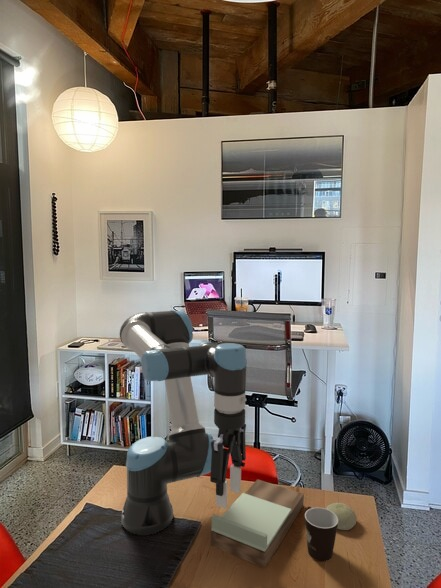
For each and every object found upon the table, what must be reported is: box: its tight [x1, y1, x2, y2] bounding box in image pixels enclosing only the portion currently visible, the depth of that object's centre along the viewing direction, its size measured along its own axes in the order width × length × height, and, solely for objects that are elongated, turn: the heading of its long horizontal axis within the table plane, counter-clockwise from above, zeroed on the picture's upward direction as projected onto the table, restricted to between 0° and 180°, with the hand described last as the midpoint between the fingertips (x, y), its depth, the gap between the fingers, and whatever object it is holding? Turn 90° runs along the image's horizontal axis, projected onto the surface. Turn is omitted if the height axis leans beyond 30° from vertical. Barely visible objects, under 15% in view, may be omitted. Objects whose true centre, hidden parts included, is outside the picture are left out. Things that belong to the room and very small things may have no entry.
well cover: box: [210, 492, 291, 552], centre depth 117 cm, size 16×19×4 cm
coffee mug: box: [304, 506, 338, 562], centre depth 112 cm, size 12×9×10 cm
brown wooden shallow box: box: [210, 479, 305, 569], centre depth 122 cm, size 16×30×4 cm, turn 150°
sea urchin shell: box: [325, 502, 357, 531], centre depth 123 cm, size 9×8×8 cm
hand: (228, 498), depth 103 cm, fingers open, 6 cm apart
